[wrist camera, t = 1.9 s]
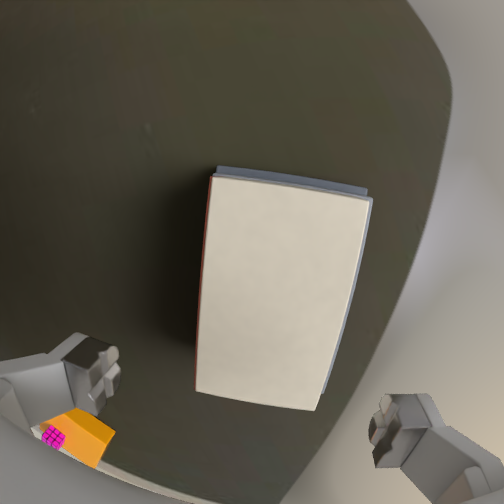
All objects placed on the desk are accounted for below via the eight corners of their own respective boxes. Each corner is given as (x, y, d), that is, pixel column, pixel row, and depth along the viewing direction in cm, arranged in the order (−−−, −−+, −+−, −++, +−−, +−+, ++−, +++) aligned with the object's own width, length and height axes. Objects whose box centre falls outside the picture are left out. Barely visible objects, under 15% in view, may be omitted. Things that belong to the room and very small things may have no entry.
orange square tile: (53, 384, 24) (30, 406, 20) (116, 431, 24) (97, 459, 20) (48, 418, 26) (30, 438, 22) (102, 458, 26) (87, 481, 22)
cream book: (221, 175, 14) (209, 176, 12) (358, 197, 14) (370, 201, 12) (203, 368, 17) (193, 391, 15) (313, 386, 17) (315, 411, 14)
